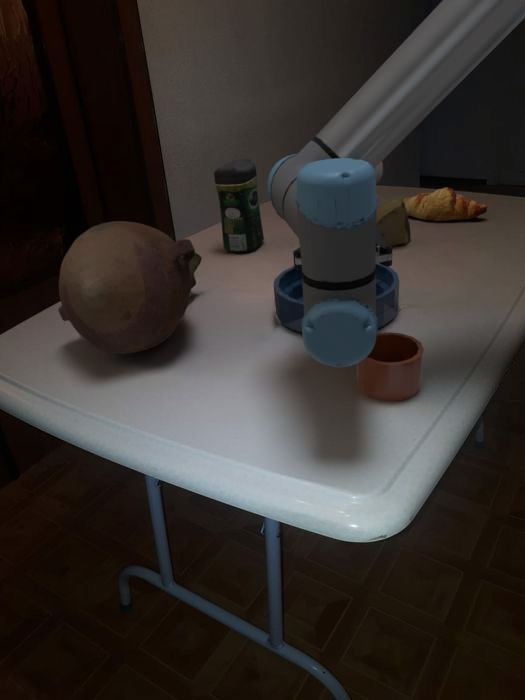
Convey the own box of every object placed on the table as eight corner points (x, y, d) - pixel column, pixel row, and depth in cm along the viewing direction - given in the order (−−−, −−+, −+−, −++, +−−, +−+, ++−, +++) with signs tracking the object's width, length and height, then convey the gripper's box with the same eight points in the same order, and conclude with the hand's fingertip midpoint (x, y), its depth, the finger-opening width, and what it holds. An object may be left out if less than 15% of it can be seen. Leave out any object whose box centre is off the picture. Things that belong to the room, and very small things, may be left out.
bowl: (408, 294, 95) (409, 261, 92) (381, 350, 80) (381, 312, 77) (301, 284, 103) (299, 254, 100) (258, 333, 88) (254, 299, 85)
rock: (351, 241, 114) (400, 238, 109) (354, 201, 115) (402, 196, 110) (367, 257, 123) (412, 254, 119) (369, 219, 124) (414, 215, 120)
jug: (144, 387, 77) (229, 323, 103) (156, 250, 69) (245, 218, 95) (25, 347, 82) (134, 295, 109) (22, 214, 74) (142, 193, 101)
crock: (425, 376, 73) (428, 336, 70) (414, 410, 67) (416, 368, 64) (366, 367, 76) (366, 329, 73) (349, 400, 70) (349, 359, 67)
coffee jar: (237, 238, 130) (227, 156, 120) (268, 240, 127) (260, 155, 117) (218, 253, 122) (206, 166, 113) (251, 255, 119) (241, 166, 110)
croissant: (391, 230, 135) (385, 205, 129) (403, 200, 139) (398, 175, 133) (482, 236, 124) (480, 209, 118) (493, 204, 128) (492, 177, 122)
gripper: (281, 308, 71) (297, 245, 91) (404, 305, 68) (392, 241, 88) (276, 252, 67) (294, 199, 87) (406, 247, 64) (394, 193, 85)
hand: (343, 220), depth 88 cm, fingers closed on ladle, 2 cm apart
